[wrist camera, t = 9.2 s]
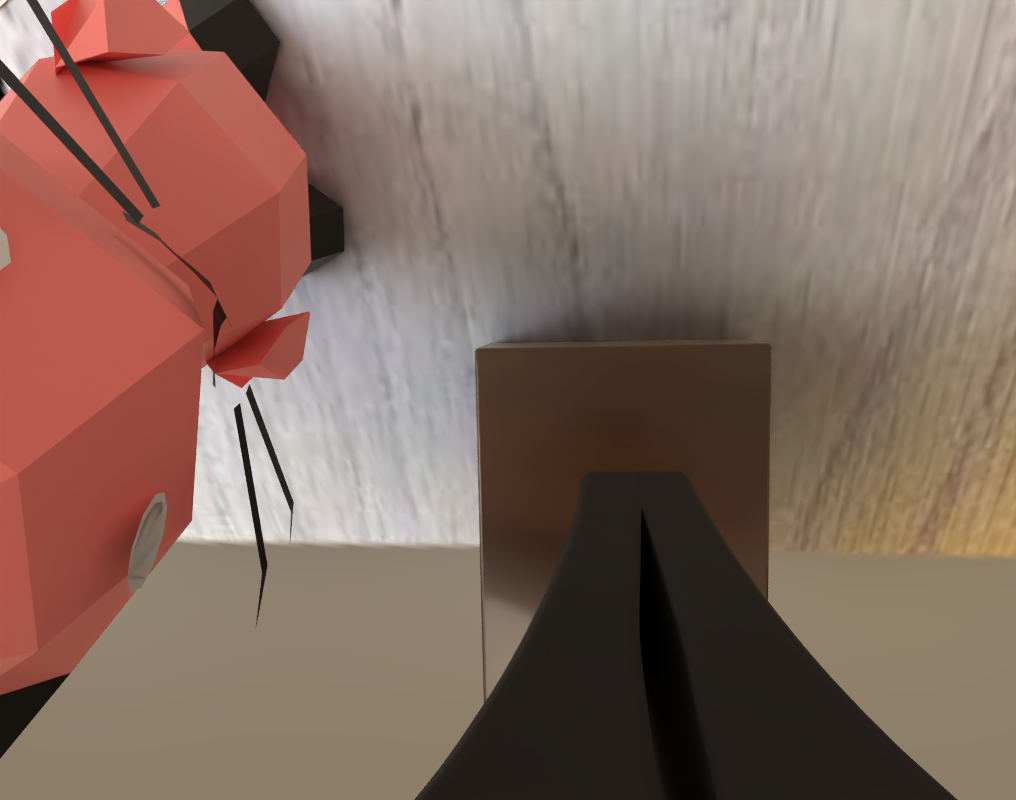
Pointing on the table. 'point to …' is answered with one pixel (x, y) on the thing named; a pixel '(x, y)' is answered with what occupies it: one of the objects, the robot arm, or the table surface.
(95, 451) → the cat figurine
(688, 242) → the table surface
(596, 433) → the walnut block
